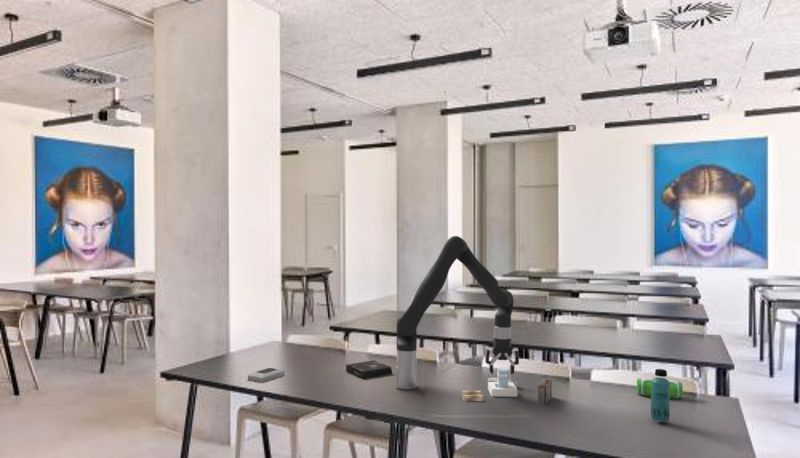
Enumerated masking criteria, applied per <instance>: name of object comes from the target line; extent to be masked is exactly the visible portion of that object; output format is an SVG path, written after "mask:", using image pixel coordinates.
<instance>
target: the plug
mask: <svg viewBox="0 0 800 458" xmlns="http://www.w3.org/2000/svg"><path fill="white" fill-rule="evenodd" d="M496 376H497V377H496V378H497V388H508V380H509V369H507V368H497V375H496Z"/></svg>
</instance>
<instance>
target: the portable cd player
mask: <svg viewBox="0 0 800 458" xmlns="http://www.w3.org/2000/svg"><path fill="white" fill-rule="evenodd" d="M345 372H346V373H348V374H350V375H353V376H355V377H357V378H359V379H362V380H366V379H370V378H371V377H372V378H377V377H383V376H388V374H389V375H392V374H393V370H392V366H389V365H387V364H385V363H382V362H380V361H377V360H374V359H373V360H367V361H361V362H355V363H349V364H346V365H345ZM382 375H383V376H382Z"/></svg>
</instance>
